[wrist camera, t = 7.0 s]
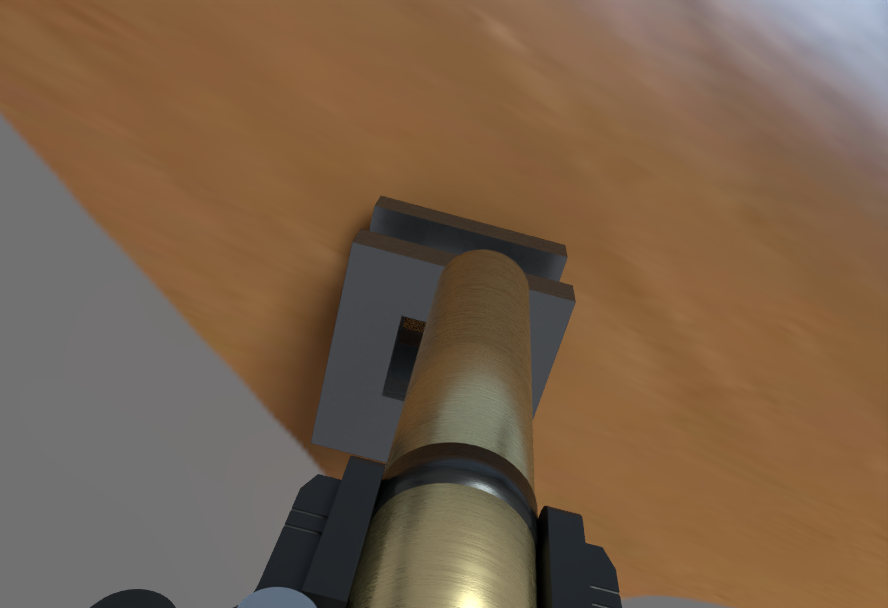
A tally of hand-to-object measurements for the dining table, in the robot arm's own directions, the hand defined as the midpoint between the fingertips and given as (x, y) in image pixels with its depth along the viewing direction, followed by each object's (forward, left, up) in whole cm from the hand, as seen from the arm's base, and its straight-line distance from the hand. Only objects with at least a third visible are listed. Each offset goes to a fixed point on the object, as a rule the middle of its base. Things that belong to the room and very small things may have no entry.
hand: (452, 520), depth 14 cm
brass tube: (0, 0, -12) cm, 12 cm away
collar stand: (+9, 0, -31) cm, 32 cm away
